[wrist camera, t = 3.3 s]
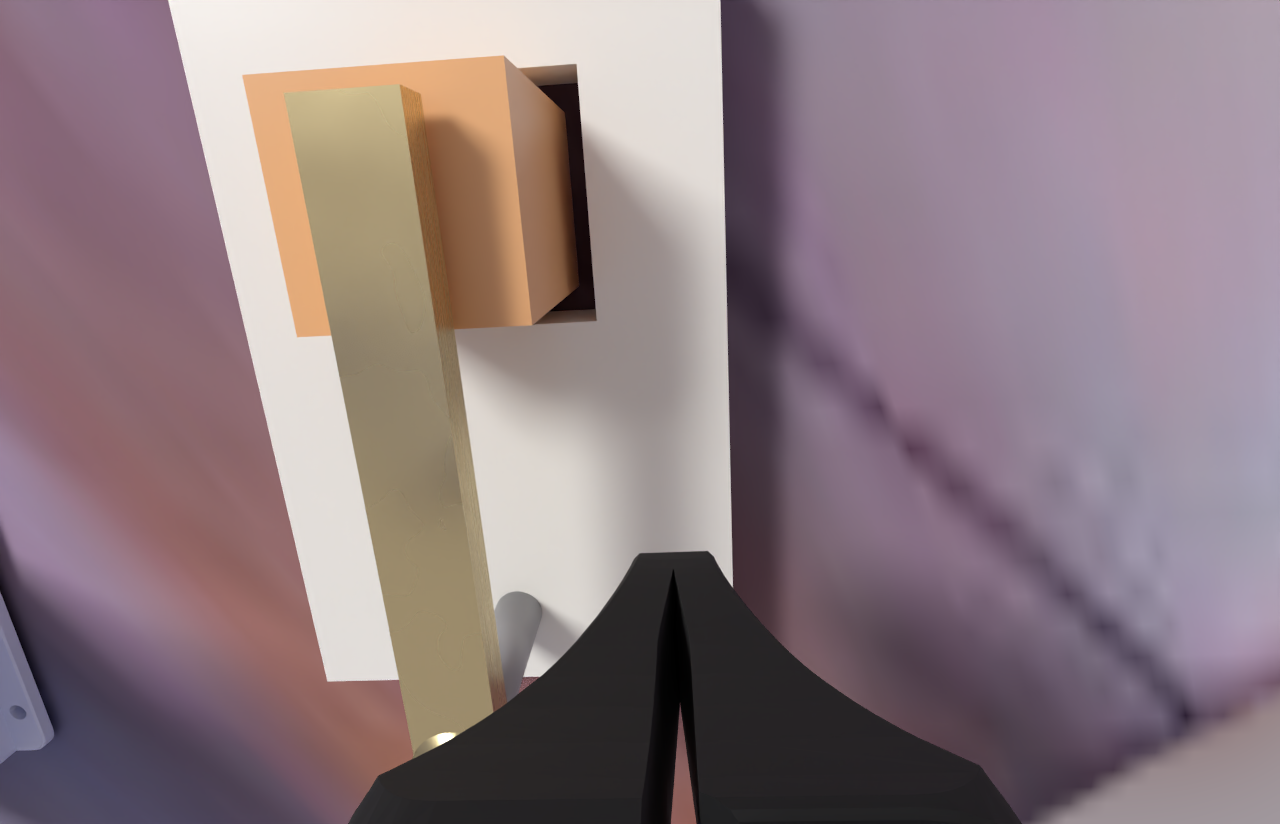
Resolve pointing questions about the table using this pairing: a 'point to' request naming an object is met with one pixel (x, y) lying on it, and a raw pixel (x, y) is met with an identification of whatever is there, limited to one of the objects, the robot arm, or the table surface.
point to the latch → (402, 394)
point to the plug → (446, 186)
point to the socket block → (516, 355)
